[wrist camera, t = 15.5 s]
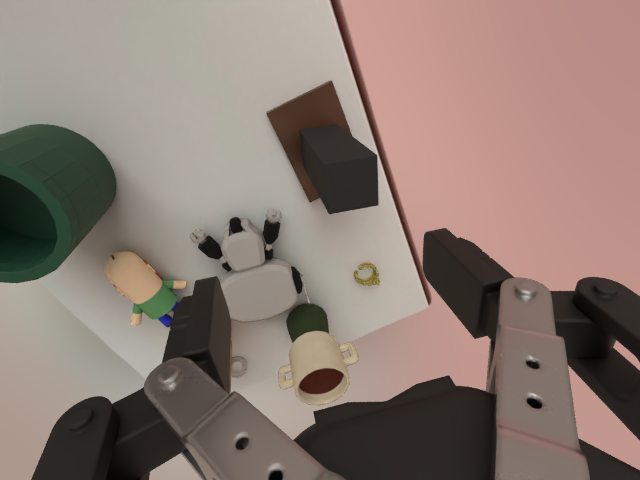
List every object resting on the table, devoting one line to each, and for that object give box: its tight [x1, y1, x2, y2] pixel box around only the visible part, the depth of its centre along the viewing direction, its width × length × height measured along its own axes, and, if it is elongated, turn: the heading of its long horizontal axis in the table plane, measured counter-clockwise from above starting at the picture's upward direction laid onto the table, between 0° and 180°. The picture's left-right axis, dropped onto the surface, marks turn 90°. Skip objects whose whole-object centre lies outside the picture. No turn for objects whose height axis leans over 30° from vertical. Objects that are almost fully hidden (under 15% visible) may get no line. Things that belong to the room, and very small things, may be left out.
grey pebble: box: [231, 357, 247, 377], centre depth 55 cm, size 3×3×2 cm
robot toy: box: [190, 209, 310, 322], centre depth 46 cm, size 12×4×15 cm
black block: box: [299, 125, 378, 214], centre depth 35 cm, size 4×4×14 cm
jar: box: [0, 124, 116, 283], centre depth 33 cm, size 11×11×12 cm
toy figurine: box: [105, 251, 186, 327], centre depth 44 cm, size 8×4×12 cm
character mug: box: [278, 304, 359, 405], centre depth 48 cm, size 11×7×13 cm, turn 107°
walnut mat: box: [267, 81, 352, 202], centre depth 41 cm, size 12×8×1 cm, turn 23°
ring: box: [354, 263, 380, 286], centre depth 51 cm, size 3×3×3 cm
